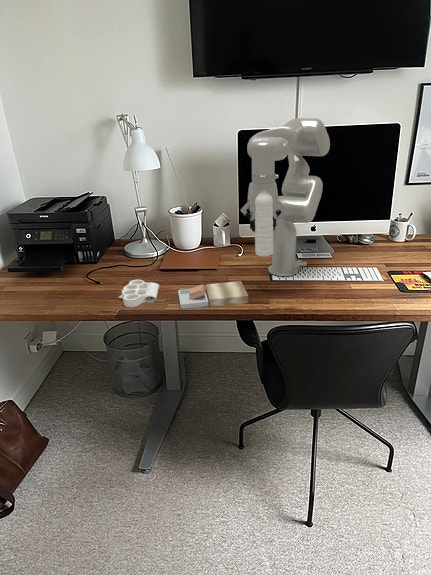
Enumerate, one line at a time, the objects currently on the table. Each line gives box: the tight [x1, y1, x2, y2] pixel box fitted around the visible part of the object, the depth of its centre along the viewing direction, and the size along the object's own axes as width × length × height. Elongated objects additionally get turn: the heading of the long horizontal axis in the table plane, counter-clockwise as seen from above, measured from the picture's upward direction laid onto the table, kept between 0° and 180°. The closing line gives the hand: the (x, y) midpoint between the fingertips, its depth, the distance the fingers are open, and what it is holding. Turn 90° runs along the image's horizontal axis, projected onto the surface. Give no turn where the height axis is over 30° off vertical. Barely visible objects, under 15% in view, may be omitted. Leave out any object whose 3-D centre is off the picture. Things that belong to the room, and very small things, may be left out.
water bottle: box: [254, 190, 274, 257], centre depth 158 cm, size 9×6×25 cm
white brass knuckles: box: [118, 279, 160, 308], centre depth 172 cm, size 3×18×15 cm
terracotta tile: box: [189, 283, 206, 300], centre depth 168 cm, size 5×5×2 cm
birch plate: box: [204, 280, 249, 308], centre depth 168 cm, size 14×13×3 cm
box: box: [177, 288, 210, 310], centre depth 167 cm, size 10×12×2 cm
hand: (262, 229), depth 159 cm, fingers closed on water bottle, 6 cm apart
